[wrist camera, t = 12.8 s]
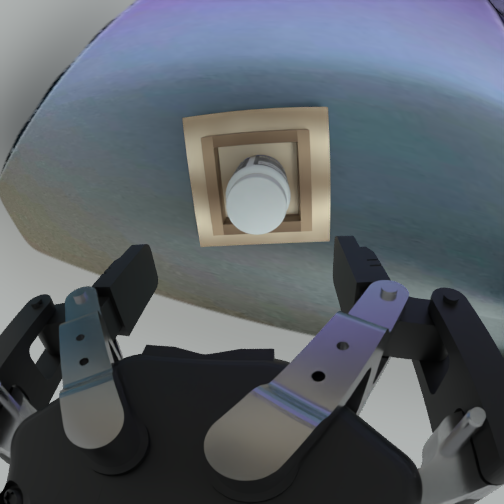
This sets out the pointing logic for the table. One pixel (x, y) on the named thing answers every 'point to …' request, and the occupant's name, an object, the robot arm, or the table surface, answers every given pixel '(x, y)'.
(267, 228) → the pill bottle
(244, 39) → the table surface
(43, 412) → the robot arm
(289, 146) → the wooden base
